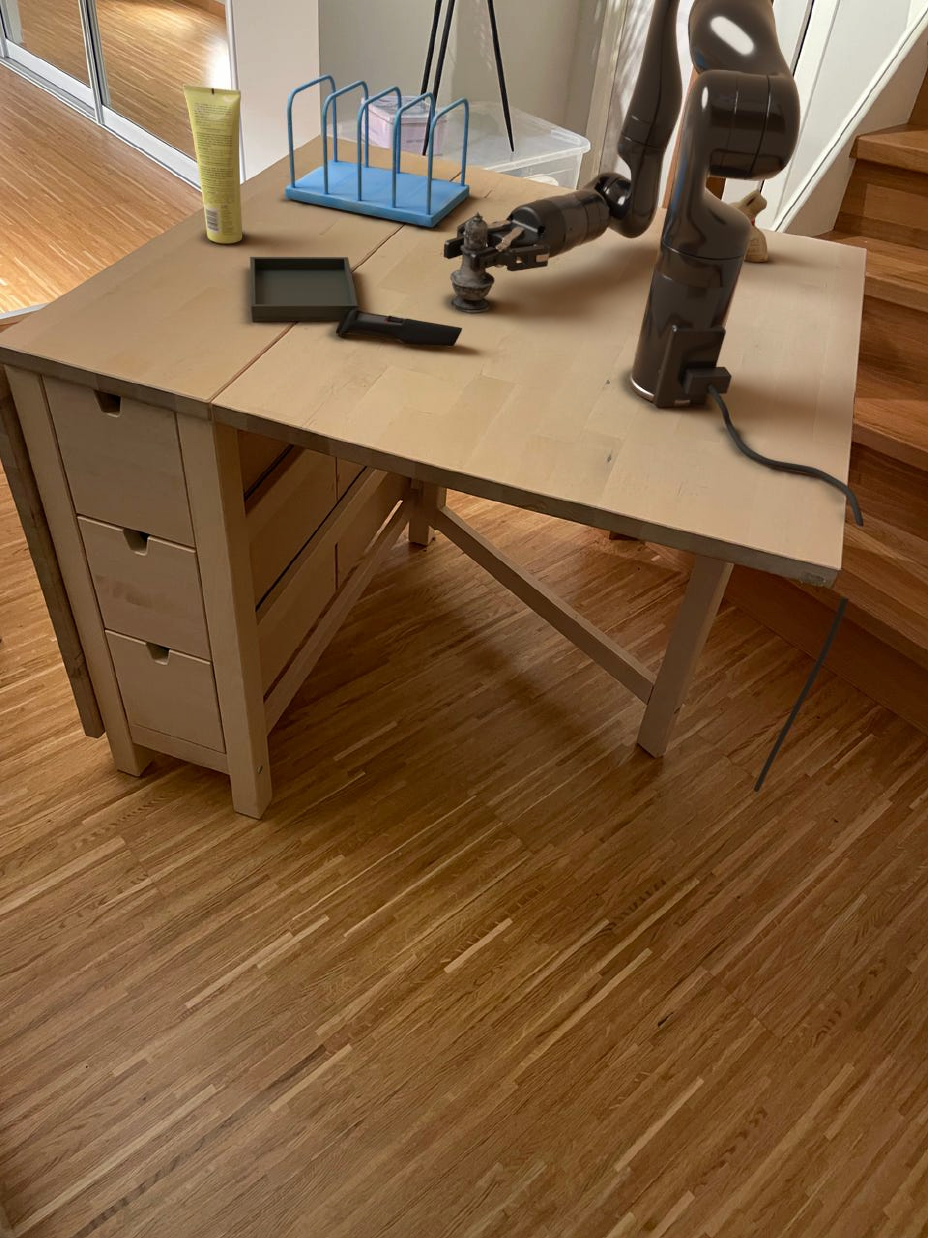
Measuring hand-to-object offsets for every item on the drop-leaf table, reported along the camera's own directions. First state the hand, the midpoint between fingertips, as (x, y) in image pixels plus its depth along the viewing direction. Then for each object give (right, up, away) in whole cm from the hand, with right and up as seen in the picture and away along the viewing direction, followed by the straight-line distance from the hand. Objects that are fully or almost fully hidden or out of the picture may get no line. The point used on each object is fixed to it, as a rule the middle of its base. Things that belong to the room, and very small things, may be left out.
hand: (459, 256), depth 117 cm
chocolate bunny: (+44, +11, +27) cm, 52 cm away
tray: (-21, -3, +5) cm, 21 cm away
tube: (-34, +9, +16) cm, 39 cm away
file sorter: (-13, +22, +33) cm, 42 cm away
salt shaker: (+1, -4, +6) cm, 8 cm away
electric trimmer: (-8, -11, -2) cm, 14 cm away
